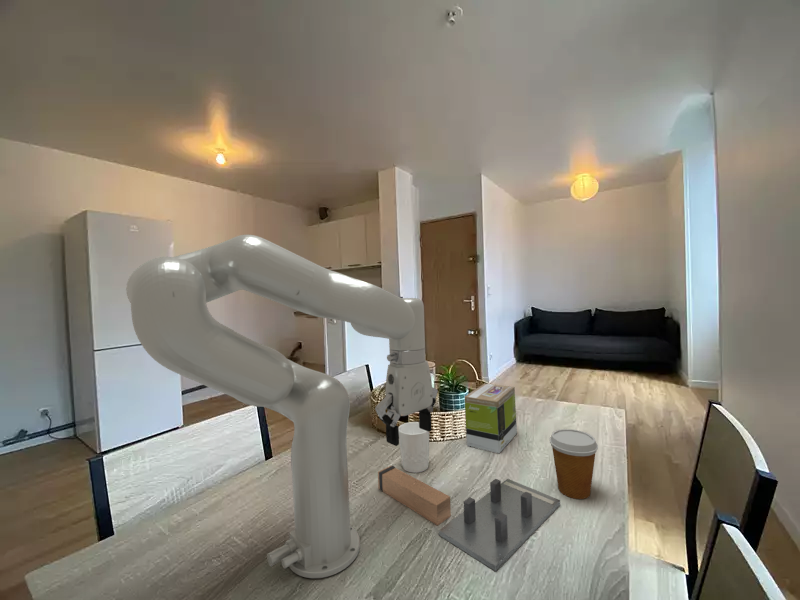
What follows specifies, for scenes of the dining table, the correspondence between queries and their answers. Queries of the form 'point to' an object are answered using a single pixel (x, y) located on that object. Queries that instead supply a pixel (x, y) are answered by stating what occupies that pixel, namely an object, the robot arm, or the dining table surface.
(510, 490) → the plate
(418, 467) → the white cup
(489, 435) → the tea box
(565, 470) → the disposable coffee cup
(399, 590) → the dining table surface
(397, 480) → the wooden beam
